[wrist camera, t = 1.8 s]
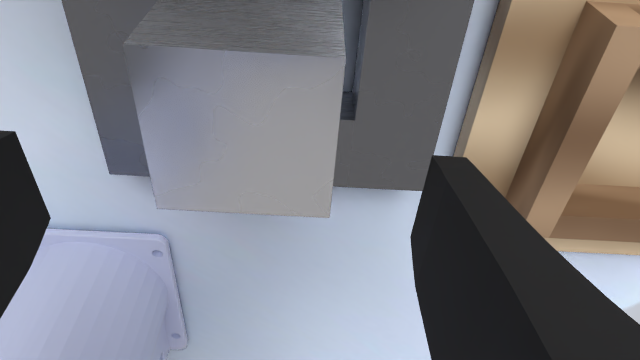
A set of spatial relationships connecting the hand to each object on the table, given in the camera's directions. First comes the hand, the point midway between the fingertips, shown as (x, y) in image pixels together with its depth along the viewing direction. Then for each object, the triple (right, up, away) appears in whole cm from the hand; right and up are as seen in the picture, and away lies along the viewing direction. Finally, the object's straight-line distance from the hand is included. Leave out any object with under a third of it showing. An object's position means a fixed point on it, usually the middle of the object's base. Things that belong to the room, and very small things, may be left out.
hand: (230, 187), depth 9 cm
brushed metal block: (0, +6, +7) cm, 10 cm away
